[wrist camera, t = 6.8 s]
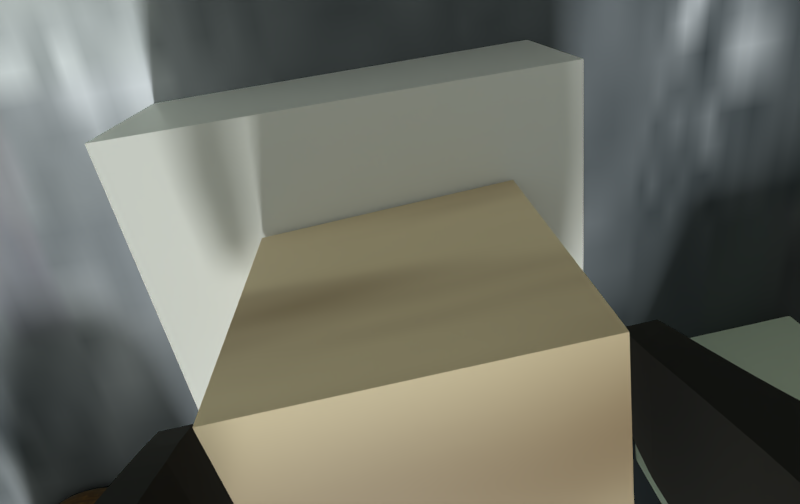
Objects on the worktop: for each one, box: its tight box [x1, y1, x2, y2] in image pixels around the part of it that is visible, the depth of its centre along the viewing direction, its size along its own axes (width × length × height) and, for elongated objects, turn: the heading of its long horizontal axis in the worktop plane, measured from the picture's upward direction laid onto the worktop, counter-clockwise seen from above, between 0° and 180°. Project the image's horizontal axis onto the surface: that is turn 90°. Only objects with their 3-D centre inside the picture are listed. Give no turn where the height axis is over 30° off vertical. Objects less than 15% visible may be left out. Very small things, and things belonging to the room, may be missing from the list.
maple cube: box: [192, 180, 634, 504], centre depth 9 cm, size 5×5×5 cm
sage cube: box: [635, 316, 800, 504], centre depth 16 cm, size 5×5×5 cm
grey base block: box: [85, 40, 584, 410], centre depth 13 cm, size 9×9×4 cm
